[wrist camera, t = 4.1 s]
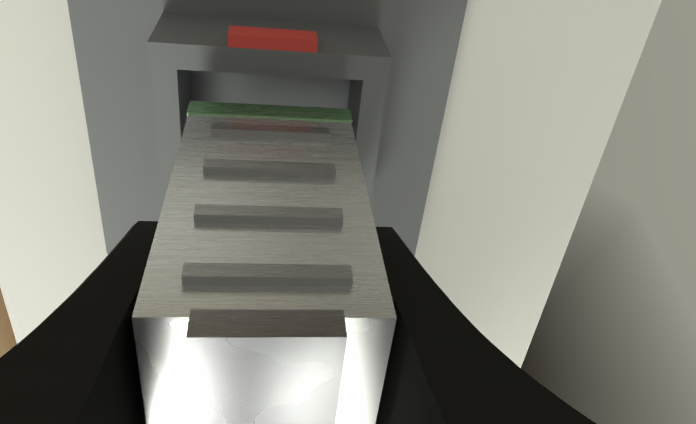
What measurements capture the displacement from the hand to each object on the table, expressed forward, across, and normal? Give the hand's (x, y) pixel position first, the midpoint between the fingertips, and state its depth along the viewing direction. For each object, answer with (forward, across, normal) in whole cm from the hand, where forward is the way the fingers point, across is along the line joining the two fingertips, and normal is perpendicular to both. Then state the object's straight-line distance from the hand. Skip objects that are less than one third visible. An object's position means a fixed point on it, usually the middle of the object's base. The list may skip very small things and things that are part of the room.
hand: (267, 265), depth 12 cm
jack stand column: (+3, 0, 0) cm, 3 cm away
